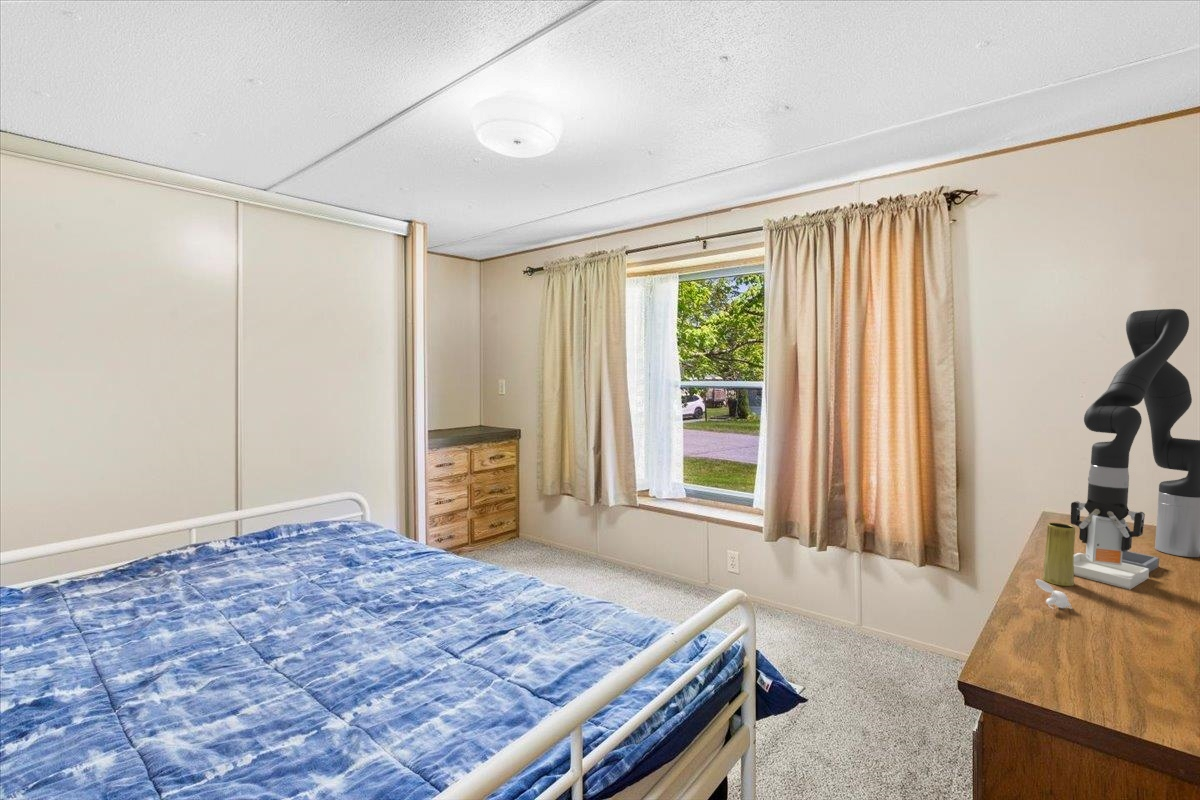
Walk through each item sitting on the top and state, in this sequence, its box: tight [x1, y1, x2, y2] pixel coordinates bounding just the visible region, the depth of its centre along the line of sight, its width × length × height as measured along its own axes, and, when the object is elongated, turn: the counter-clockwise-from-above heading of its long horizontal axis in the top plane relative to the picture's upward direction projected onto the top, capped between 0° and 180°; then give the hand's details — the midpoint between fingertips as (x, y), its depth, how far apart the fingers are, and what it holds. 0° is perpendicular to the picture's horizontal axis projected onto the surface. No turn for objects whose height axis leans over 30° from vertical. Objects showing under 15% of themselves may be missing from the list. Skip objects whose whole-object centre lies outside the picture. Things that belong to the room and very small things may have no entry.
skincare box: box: [1085, 513, 1126, 566], centre depth 140 cm, size 6×4×12 cm
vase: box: [1041, 522, 1076, 587], centre depth 135 cm, size 6×6×14 cm
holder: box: [1122, 550, 1160, 573], centre depth 148 cm, size 12×12×2 cm
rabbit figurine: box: [1035, 579, 1073, 610], centre depth 120 cm, size 6×4×8 cm
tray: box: [1074, 552, 1150, 590], centre depth 140 cm, size 14×14×2 cm
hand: (1104, 546), depth 140 cm, fingers closed on skincare box, 7 cm apart
